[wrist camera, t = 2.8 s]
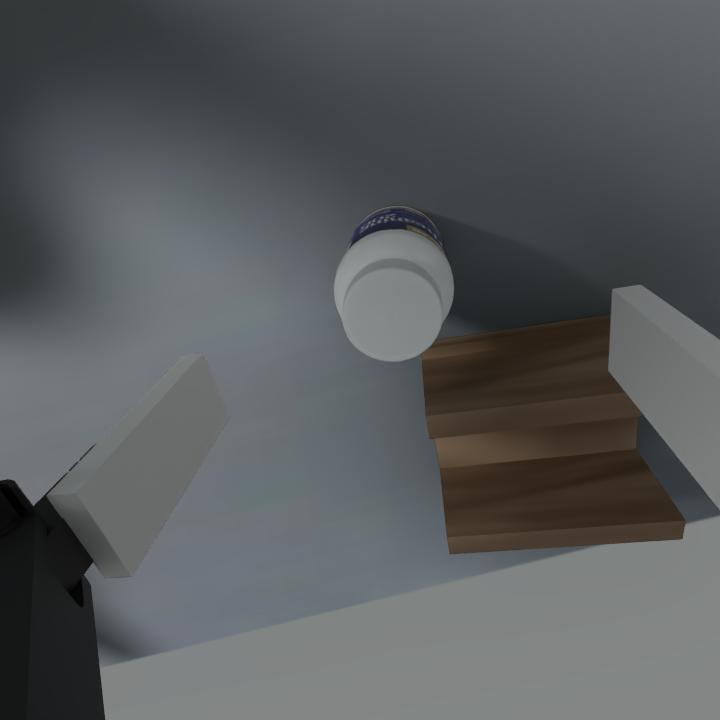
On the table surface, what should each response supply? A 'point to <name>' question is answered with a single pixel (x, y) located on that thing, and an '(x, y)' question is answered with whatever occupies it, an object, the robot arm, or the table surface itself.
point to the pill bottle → (394, 284)
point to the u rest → (539, 442)
